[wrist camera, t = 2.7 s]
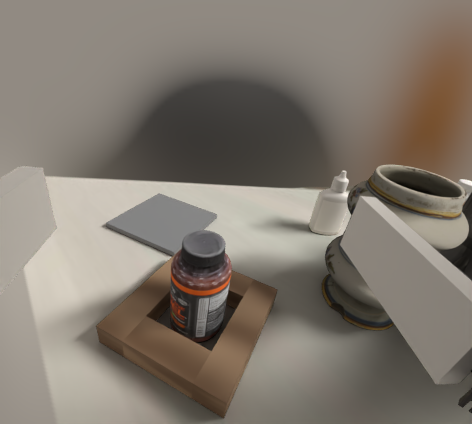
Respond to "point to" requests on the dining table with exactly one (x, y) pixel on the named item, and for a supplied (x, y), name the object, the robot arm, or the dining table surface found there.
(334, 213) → the eye dropper bottle
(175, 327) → the supplement bottle
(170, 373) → the pocket block
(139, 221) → the mat
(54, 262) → the dining table surface
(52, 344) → the dining table surface
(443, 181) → the apothecary jar
